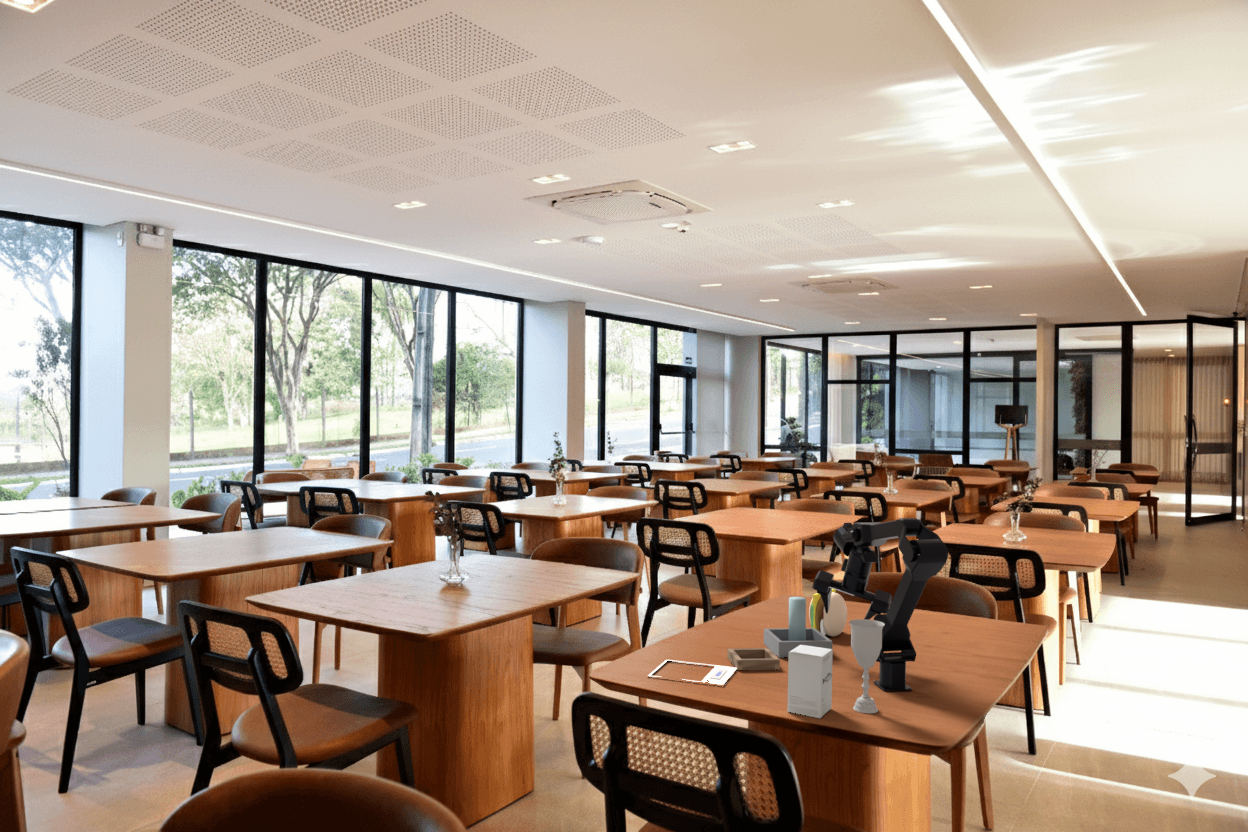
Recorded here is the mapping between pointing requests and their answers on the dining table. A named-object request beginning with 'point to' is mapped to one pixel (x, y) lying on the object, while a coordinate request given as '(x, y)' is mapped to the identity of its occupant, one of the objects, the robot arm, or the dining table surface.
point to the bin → (782, 646)
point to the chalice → (866, 656)
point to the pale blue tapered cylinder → (797, 619)
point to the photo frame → (715, 676)
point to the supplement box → (810, 681)
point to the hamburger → (828, 614)
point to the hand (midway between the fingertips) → (844, 618)
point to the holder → (753, 659)
